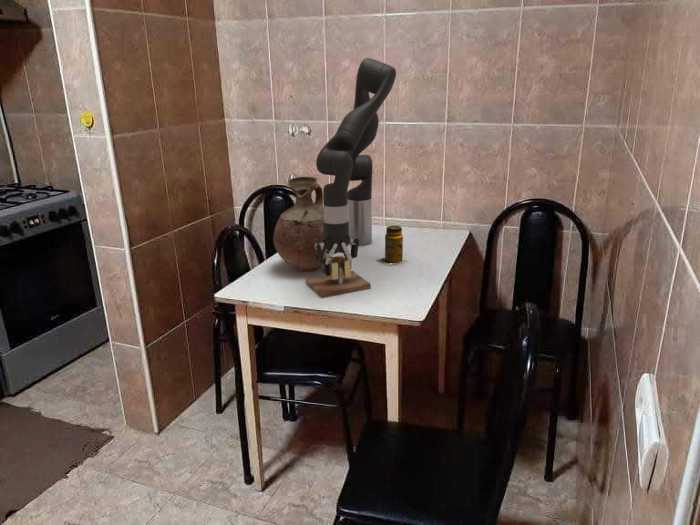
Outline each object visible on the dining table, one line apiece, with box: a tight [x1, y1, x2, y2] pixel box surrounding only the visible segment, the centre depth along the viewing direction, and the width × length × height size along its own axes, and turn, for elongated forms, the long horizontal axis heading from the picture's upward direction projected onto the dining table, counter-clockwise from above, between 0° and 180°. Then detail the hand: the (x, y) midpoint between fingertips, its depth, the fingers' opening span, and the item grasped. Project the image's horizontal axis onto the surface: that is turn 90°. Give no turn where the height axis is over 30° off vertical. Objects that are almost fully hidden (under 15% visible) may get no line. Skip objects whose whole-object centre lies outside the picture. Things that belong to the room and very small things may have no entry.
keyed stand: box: [305, 264, 372, 299], centre depth 162 cm, size 13×16×6 cm
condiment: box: [376, 225, 408, 267], centre depth 183 cm, size 7×8×12 cm
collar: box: [328, 254, 352, 280], centre depth 161 cm, size 6×6×5 cm
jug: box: [272, 175, 335, 273], centre depth 175 cm, size 22×22×30 cm
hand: (337, 273), depth 162 cm, fingers closed on collar, 6 cm apart
